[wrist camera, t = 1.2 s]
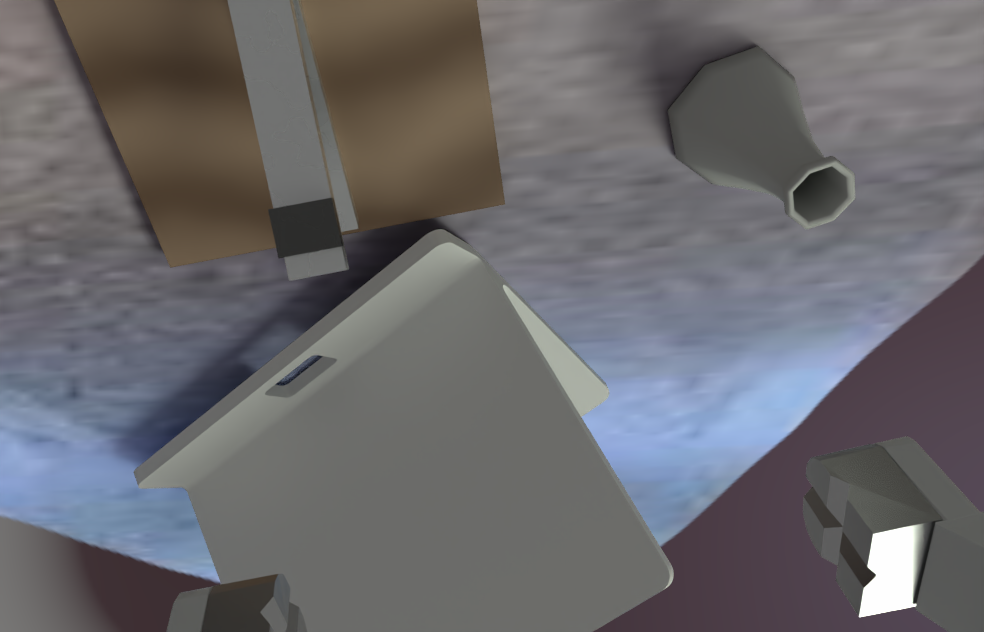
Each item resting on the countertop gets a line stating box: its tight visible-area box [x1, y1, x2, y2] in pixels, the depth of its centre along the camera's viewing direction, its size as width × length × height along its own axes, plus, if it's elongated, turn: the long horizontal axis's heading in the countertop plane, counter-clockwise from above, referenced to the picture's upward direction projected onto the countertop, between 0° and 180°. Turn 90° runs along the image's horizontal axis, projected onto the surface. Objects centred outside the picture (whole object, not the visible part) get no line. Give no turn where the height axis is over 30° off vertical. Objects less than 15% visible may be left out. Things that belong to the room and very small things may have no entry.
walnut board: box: [54, 0, 505, 268], centre depth 37 cm, size 18×18×1 cm
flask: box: [668, 46, 855, 229], centre depth 38 cm, size 7×7×10 cm
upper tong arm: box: [227, 0, 349, 281], centre depth 32 cm, size 16×4×2 cm, turn 7°
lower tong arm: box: [293, 0, 359, 232], centre depth 35 cm, size 16×6×3 cm, turn 8°
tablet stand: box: [134, 229, 673, 632], centre depth 44 cm, size 18×25×17 cm
